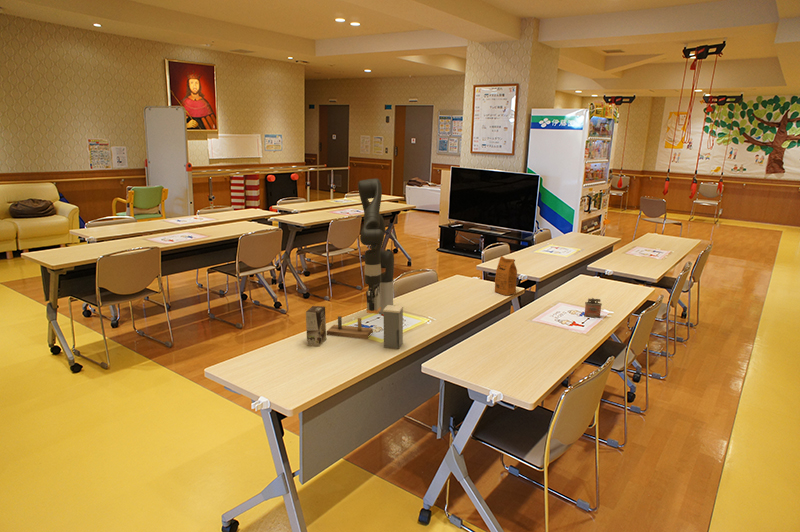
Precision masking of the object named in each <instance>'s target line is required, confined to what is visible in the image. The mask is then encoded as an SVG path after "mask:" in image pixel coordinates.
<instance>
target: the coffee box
mask: <svg viewBox="0 0 800 532" xmlns="http://www.w3.org/2000/svg"><path fill="white" fill-rule="evenodd" d="M326 317H327V316H326V306H322V305H321V306H319V305H317V306H316V305H312V306H311V307H309V308H308V309H307V310H306V311H305V324H306V325H305V326H306V346H313V347H320V346H321V345H323V343H324V342H325V341H326V340H327V327H326V326H327V322H326V319H327V318H326Z"/></svg>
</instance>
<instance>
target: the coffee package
mask: <svg viewBox="0 0 800 532" xmlns="http://www.w3.org/2000/svg"><path fill="white" fill-rule="evenodd" d="M515 261H516V259H514V258H505V257H504V256H503V255H501V256H500V258H499V260H498V265H497V267H496V270H495V278H494V293H498V294H499V295H502V296H510V295H513V294H516V292H517V279H518V275H517V274H518V269H517V267H516V264H515Z"/></svg>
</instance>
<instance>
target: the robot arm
mask: <svg viewBox="0 0 800 532" xmlns="http://www.w3.org/2000/svg"><path fill="white" fill-rule="evenodd" d="M382 187H383V186H382V183H381V180H380V179H379V178H368V179H361V180H359V181H358V183H357V190H358V194H359V198H360V202H361V205H362V209H363V213H364V214H363V227H362V230H361V232H360V235H359V236H360V237H359V241H360V243H361V244H362V245H364V246H370V249H368V250H366V251H364V272H363V273H364V284H365V285H368V288H367V290H366V291H365V296H366V304H367V303H369V310H370V311H374V298H375V297H376V294H380V307H381V310H380V311H379V313H378V314H383V310H384V308H385V307H386V306H387V305H394V274H395V273H394V272H395V271H394V270H395V269H394V268H395V267H394V265H395V255H394V252H392V251H389V250H382V248H383V243H384V239H385V234H386V225H385V224H386V223H385V219H384V217H383V215H382V214H381V213H380V209H381V204H382V198H383V197H382V194H383V193H382V192H383V188H382ZM369 200H372V201H371V202H370V201H369ZM382 269H384V270H385V271H384V272H382ZM372 295H374V296H372ZM370 299H371V300H370Z"/></svg>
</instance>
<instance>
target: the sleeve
mask: <svg viewBox="0 0 800 532" xmlns="http://www.w3.org/2000/svg"><path fill="white" fill-rule="evenodd" d="M372 296H374V295H372ZM370 300H371V299H370ZM380 310H381V307H380V294H376V297H375V298H374V311H370V310H369V303H367V302H366V314H374V315H375V314H377V315H378V314H380V313H379V311H380Z"/></svg>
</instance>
